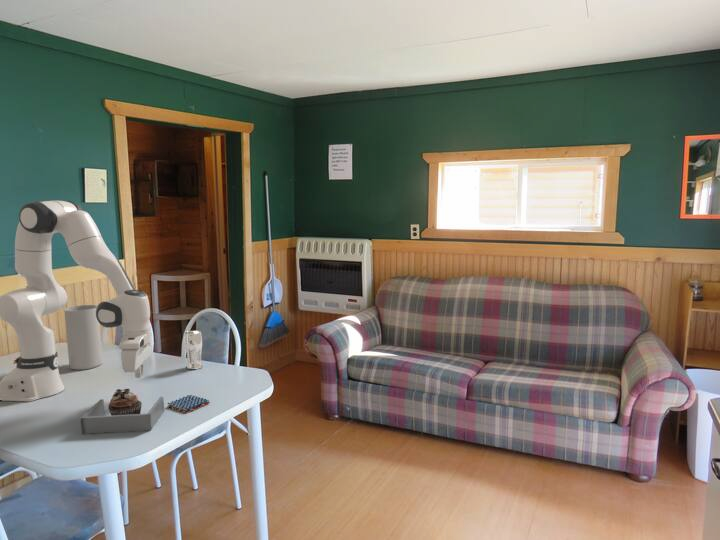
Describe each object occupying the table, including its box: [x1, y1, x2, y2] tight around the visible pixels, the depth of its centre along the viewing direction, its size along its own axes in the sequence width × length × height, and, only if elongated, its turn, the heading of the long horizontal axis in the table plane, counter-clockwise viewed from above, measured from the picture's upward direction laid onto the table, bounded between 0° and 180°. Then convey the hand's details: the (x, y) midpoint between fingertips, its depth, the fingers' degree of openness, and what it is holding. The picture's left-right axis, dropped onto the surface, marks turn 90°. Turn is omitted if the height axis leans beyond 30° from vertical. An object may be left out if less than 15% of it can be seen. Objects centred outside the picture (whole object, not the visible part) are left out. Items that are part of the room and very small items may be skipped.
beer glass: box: [183, 330, 203, 370], centre depth 220 cm, size 7×7×15 cm
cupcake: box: [107, 388, 143, 415], centre depth 168 cm, size 10×10×10 cm
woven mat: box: [167, 394, 211, 414], centre depth 180 cm, size 10×11×2 cm
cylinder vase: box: [64, 304, 103, 371], centre depth 224 cm, size 12×12×25 cm
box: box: [80, 396, 165, 435], centre depth 167 cm, size 20×15×5 cm
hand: (139, 376), depth 184 cm, fingers closed
